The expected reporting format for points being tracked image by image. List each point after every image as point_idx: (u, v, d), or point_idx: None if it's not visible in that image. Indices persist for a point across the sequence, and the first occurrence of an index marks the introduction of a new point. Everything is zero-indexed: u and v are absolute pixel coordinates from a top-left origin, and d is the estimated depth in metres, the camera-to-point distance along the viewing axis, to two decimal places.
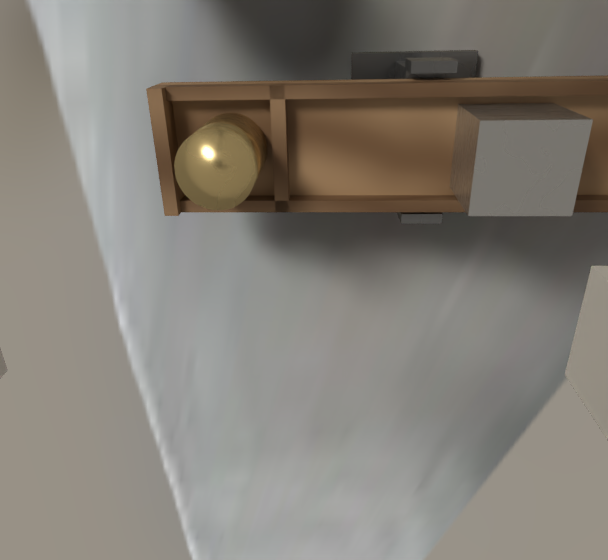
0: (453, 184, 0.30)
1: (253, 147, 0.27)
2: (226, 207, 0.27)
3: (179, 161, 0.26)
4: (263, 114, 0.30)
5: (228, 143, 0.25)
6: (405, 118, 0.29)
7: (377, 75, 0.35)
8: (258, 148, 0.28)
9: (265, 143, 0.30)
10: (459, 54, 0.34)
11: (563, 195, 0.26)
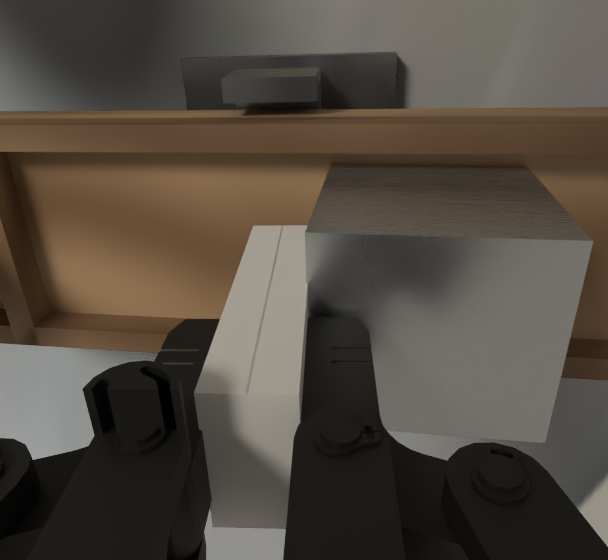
0: None
1: None
2: None
3: None
4: None
5: None
6: (226, 188, 0.15)
7: None
8: None
9: None
10: (365, 59, 0.20)
11: (522, 401, 0.11)
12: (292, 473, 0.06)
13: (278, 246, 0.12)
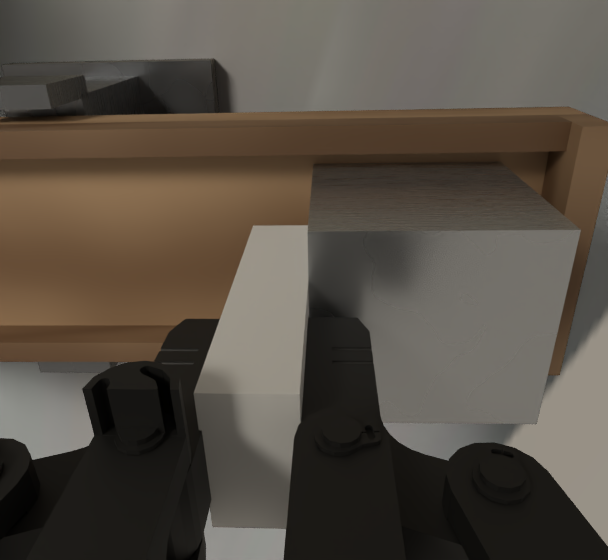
0: None
1: None
2: None
3: None
4: None
5: None
6: None
7: None
8: None
9: None
10: (180, 66, 0.20)
11: (515, 385, 0.11)
12: (293, 473, 0.06)
13: (278, 246, 0.12)
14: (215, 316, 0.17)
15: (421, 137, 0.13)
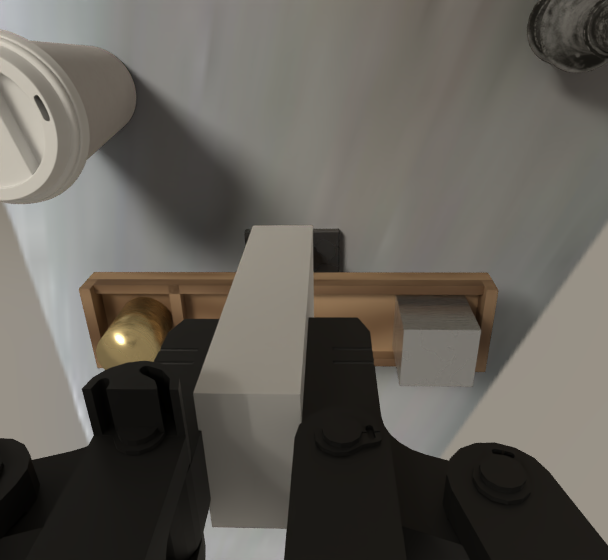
0: (393, 348, 0.40)
1: (153, 335, 0.37)
2: None
3: (99, 350, 0.37)
4: (167, 298, 0.40)
5: (133, 339, 0.36)
6: None
7: None
8: (159, 331, 0.38)
9: (169, 318, 0.41)
10: (325, 234, 0.45)
11: (465, 374, 0.36)
12: (293, 473, 0.06)
13: (279, 246, 0.12)
14: None
15: (433, 289, 0.38)
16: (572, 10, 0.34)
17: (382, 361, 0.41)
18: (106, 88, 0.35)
